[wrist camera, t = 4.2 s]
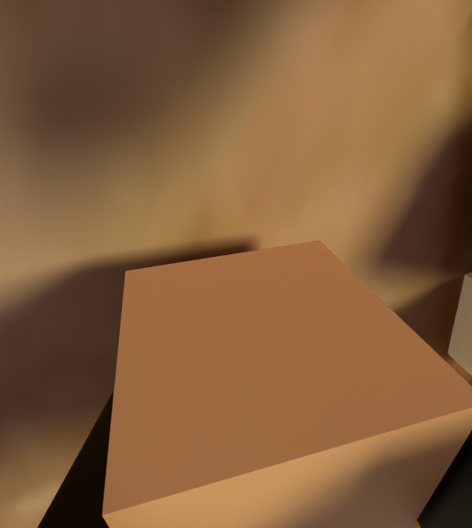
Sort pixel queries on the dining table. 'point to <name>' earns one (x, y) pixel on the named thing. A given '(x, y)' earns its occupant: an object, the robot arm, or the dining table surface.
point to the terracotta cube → (274, 399)
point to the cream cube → (463, 328)
